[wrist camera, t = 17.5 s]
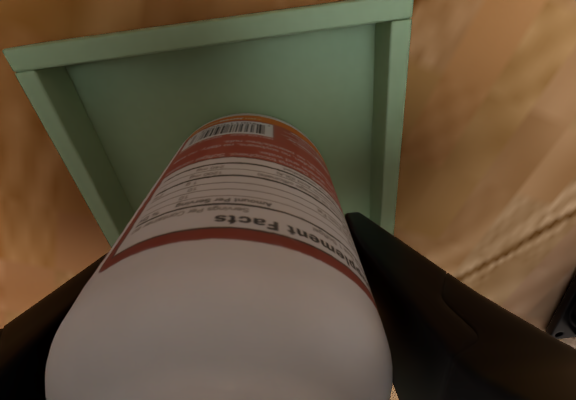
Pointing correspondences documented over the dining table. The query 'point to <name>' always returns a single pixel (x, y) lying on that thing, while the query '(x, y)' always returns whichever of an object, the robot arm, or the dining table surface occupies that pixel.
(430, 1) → the dining table surface
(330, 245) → the pill bottle
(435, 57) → the dining table surface
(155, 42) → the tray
